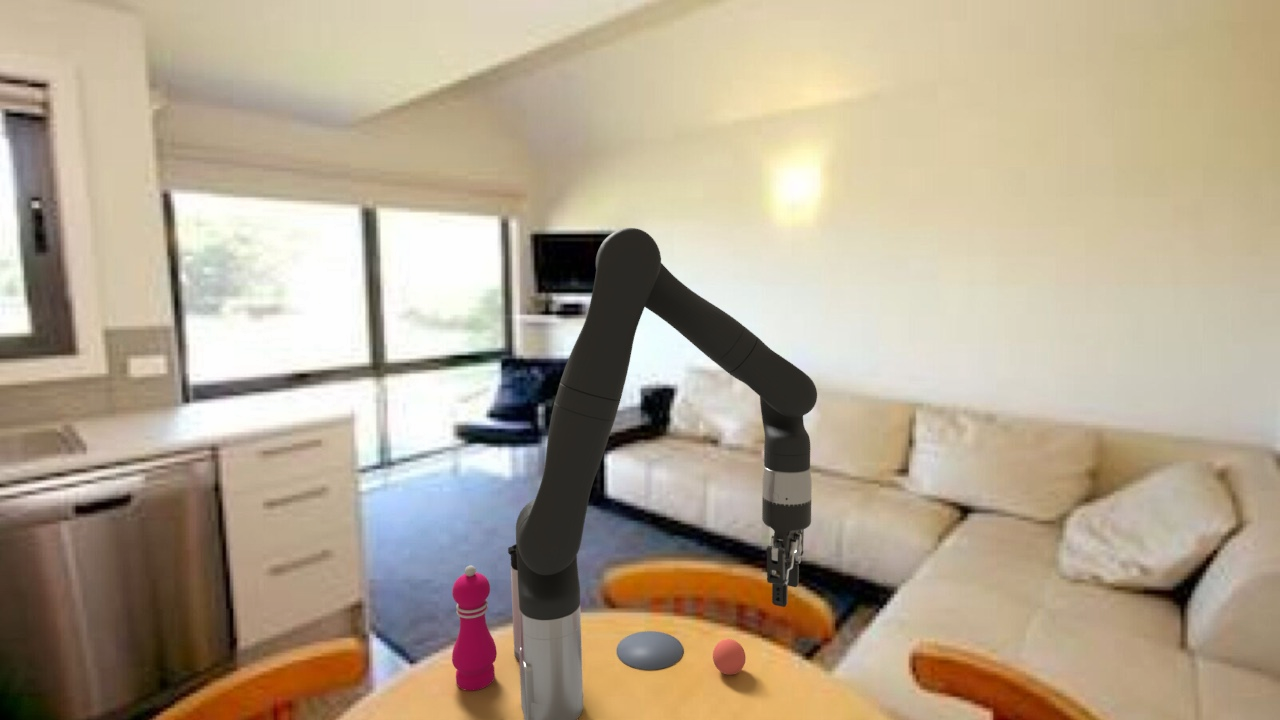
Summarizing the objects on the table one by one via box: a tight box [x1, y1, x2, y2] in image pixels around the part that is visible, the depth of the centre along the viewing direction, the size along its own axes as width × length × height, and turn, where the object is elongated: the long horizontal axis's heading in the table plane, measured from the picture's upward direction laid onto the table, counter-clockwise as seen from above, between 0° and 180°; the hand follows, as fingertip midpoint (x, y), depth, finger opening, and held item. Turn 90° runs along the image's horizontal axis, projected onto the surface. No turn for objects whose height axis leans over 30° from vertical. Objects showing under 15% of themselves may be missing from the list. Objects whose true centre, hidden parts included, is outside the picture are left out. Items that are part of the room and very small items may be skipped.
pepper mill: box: [451, 565, 497, 692], centre depth 107 cm, size 7×7×20 cm
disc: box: [615, 630, 684, 671], centre depth 117 cm, size 12×12×1 cm
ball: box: [712, 638, 746, 676], centre depth 109 cm, size 6×6×6 cm
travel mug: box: [507, 543, 521, 660], centre depth 115 cm, size 6×7×20 cm
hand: (785, 594), depth 104 cm, fingers open, 6 cm apart
